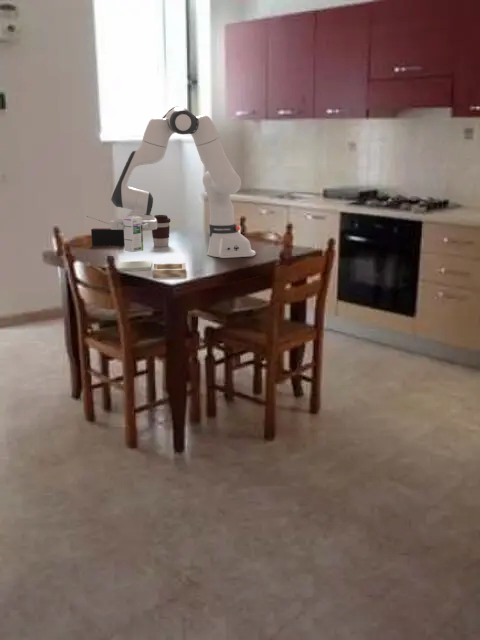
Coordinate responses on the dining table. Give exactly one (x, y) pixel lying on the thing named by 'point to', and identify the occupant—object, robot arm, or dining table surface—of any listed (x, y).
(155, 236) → the coffee cup
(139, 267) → the sage mat
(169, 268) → the birch holder
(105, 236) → the radio
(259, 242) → the dining table surface
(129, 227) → the syrup box
